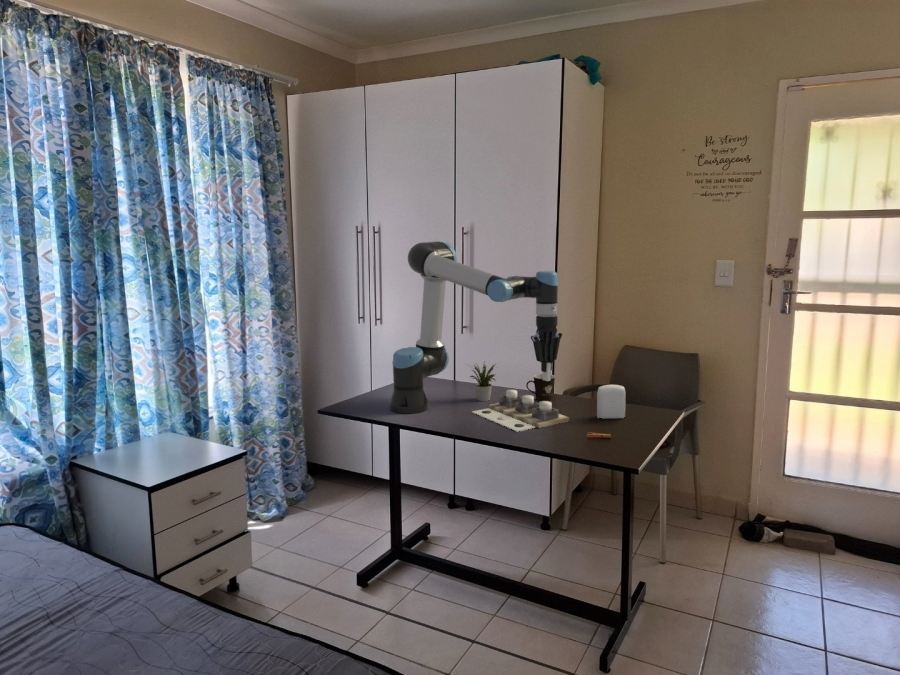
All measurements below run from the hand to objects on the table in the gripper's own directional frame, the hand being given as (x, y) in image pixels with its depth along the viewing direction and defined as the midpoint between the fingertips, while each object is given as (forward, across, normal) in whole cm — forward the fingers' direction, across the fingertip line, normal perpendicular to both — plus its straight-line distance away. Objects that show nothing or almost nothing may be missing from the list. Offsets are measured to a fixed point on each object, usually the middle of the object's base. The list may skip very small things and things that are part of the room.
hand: (546, 380), depth 228 cm
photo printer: (+16, +23, -10) cm, 29 cm away
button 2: (+12, 0, 0) cm, 12 cm away
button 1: (+12, 0, +20) cm, 23 cm away
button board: (+15, 0, +10) cm, 19 cm away
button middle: (+12, 0, +10) cm, 16 cm away
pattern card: (+15, -12, +10) cm, 22 cm away
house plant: (+15, -3, +37) cm, 40 cm away
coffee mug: (+16, +17, +23) cm, 33 cm away
